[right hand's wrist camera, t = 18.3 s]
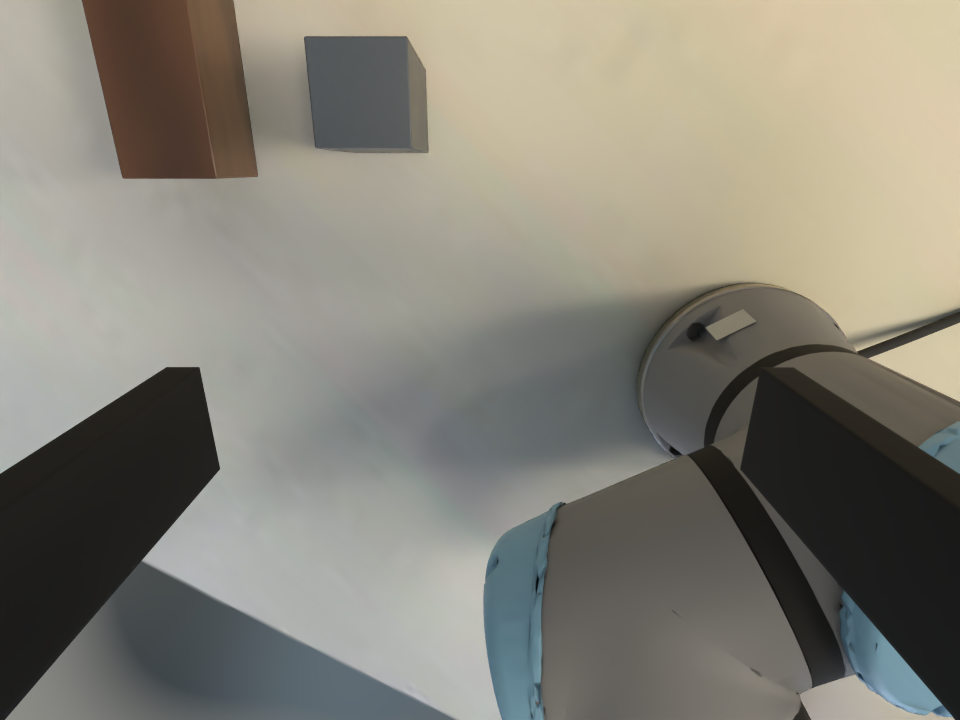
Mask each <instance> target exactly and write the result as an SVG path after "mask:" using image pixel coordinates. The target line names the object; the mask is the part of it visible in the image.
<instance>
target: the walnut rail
mask: <svg viewBox="0 0 960 720" xmlns="http://www.w3.org/2000/svg"><path fill="white" fill-rule="evenodd" d="M82 2H83V6H84V11H85V15H86V20H87V24H88V28H89V33H90V37H91V42H92V46H93V50H94V55H95V59H96V64H97V68H98V72H99V77H100V81H101V86H102V90H103V94H104V99H105V103H106V108H107V112H108V116H109V121H110V125H111V130H112V134H113V138H114V143H115V147H116V152H117V156H118V160H119V165H120V169H121V174H122V177H123V178H124V179H218V178H239V177H257V176H258V173H257V166H256V159H255V152H254V145H253V138H252V131H251V124H250V116H249V109H248V102H247V95H246V88H245V81H244V74H243V67H242V60H241V53H240V46H239V38H238V31H237V24H236V17H235V10H234V3H233V0H82Z"/></svg>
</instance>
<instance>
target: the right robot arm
mask: <svg viewBox="0 0 960 720" xmlns="http://www.w3.org/2000/svg"><path fill="white" fill-rule="evenodd" d="M957 323H960V312H958V313H956V314H953V315H951V316H948V317H945V318H943V319H940V320H938V321H935V322H933V323H930V324H928V325H925V326H923V327H920V328H918V329H915V330H913V331H910V332H907V333H905V334H902V335H900V336H897V337H894V338H892V339H889V340H887V341H884V342H881V343H879V344H876V345H873V346H871V347H868V348H866V349H863V350H860V351H858V352H857V351H856V350H855V349H854V348H853V346H852V345H851V344H850V343H849V341H848V340H847V339H846V337H845V335H844V333H843V332H842V330H841V329H840V327H839V326H838V324H837V323H836V322H835V320H834V319H833V318H832V317H831V316H830V315H829V314H828V313H827V312H826V311H824V310H823V309H822V308H821V307H819V306H818V305H817V304H815V303H814V302H812V301H811V300H809V299H807V298H805V297H803V296H801V295H799V294H797V293H794V292H792V291H789V290H786V289H784V288H781V287H777V286H773V285H767V284H753V283H752V284H739V285H732V286H728V287H724V288H720V289H717V290H714V291H711V292H709V293H707V294H704V295H702V296H700V297H698V298H696V299H695V300H693V301H691V302H690V303H688V304H687V305H685V306H684V307H682V308H681V309H680V310H678V311H677V312H676V313H675V314H674V315H673V316H672V317H670V318H669V319H668V320H667V321H666V323H665V324H664V325H663V326H662V327H661V328H660V329H659V331H658V332H657V333H656V335H655V336H654V338H653V339H652V341H651V343H650V344H649V346H648V348H647V350H646V352H645V355H644V357H643V360H642V363H641V366H640V370H639V376H638V385H637V393H638V402H639V407H640V411H641V414H642V416H643V419H644V421H645V423H646V425H647V427H648V428H649V430H650V431H651V433H652V434H653V436H654V437H655V439H656V440H657V442H658V443H659V444H660V445H661V446H662V447H663V448H664V449H665V450H666V451H667V452H668V453H669V454H670V455H671V456H673V457H674V458H675V459H673V460H671V461H669V462H666V463H664V464H661V465H659V466H657V467H654V468H652V469H650V470H647V471H645V472H642V473H640V474H638V475H635V476H633V477H631V478H628V479H626V480H624V481H621V482H619V483H616V484H614V485H612V486H609V487H607V488H605V489H602V490H600V491H597V492H595V493H593V494H590V495H588V496H586V497H583V498H581V499H578V500H576V501H573V502H571V503H568V504H566V503H563V502H559V503H557V504H555V505H553V506H552V507H551V508H550V510H549V511H548V512H546V513H543V514H541V515H539V516H537V517H535V518H533V519H531V520H529V521H527V522H525V523H523V524H521V525H518V526H516V527H514V528H512V529H511V530H509V531H508V532H506V533H505V534H504V535H503V536H502V537H501V538H500V539H499V540H498V541H497V543H496V545H495V547H494V548H493V550H492V552H491V555H490V558H489V561H488V564H487V570H486V579H485V584H484V600H483V604H484V628H485V639H486V648H487V655H488V661H489V667H490V673H491V678H492V682H493V687H494V692H495V696H496V700H497V704H498V707H499V711H500V714H501V717H502V720H811V719H810V717H809V715H808V713H807V711H806V709H805V707H804V705H803V704H802V702H801V699H800V695H799V694H800V693H802V692H805V691H807V690H809V689H811V688H814V687H816V686H819V685H822V684H825V683H828V682H831V681H834V680H838V679H841V678H845V677H848V676H851V675H855V674H856V675H857V677H858V678H859V680H860V681H862V682H863V683H865V684H866V686H867V687H868V688H869V689H870V690H872V691H874V692H876V694H879V695H880V696H882V697H883V698H884V699H885V700H886V701H888V702H890V703H891V704H893V705H895V706H896V707H898V708H901V709H903V710H905V711H907V712H910V713H914V714H919V715H927V714H928V713H930V712H933V713H934V714H936V715H937V716H943V717H953V718H954V719H955V720H960V402H959V401H957V400H955V399H952V398H950V397H948V396H946V395H944V394H942V393H940V392H938V391H936V390H933V389H931V388H929V387H927V386H925V385H923V384H921V383H919V382H917V381H914V380H912V379H910V378H908V377H906V376H904V375H902V374H900V373H898V372H895V371H893V370H891V369H889V368H887V367H885V366H883V365H881V364H879V363H876V362H874V361H872V360H870V359H868V358H870V357H873V356H875V355H878V354H881V353H883V352H886V351H888V350H891V349H894V348H896V347H899V346H901V345H904V344H907V343H909V342H912V341H914V340H917V339H919V338H922V337H924V336H927V335H929V334H932V333H934V332H937V331H940V330H942V329H945V328H947V327H950V326H952V325H955V324H957ZM219 470H220V466H219V461H218V457H217V452H216V447H215V442H214V437H213V432H212V427H211V422H210V417H209V412H208V407H207V402H206V397H205V393H204V388H203V383H202V378H201V373H200V368H199V367H166V368H165V369H163V370H162V371H160V372H158V373H157V374H155V375H154V376H152V377H151V378H149V379H148V380H146V381H144V382H143V383H141V384H140V385H138V386H137V387H135V388H134V389H132V390H130V391H129V392H127V393H126V394H124V395H123V396H121V397H120V398H118V399H116V400H115V401H113V402H112V403H110V404H109V405H107V406H105V407H104V408H102V409H101V410H99V411H98V412H96V413H95V414H93V415H91V416H90V417H88V418H87V419H85V420H84V421H82V422H81V423H79V424H77V425H76V426H74V427H73V428H71V429H70V430H68V431H66V432H65V433H63V434H62V435H60V436H59V437H57V438H56V439H54V440H52V441H51V442H49V443H48V444H46V445H45V446H43V447H42V448H40V449H38V450H37V451H35V452H34V453H32V454H31V455H29V456H27V457H26V458H24V459H23V460H21V461H20V462H18V463H17V464H15V465H13V466H12V467H10V468H9V469H7V470H6V471H4V472H3V473H1V474H0V720H5V719H6V718H7V717H8V715H9V714H10V713H11V712H12V711H13V710H14V708H15V707H16V706H17V705H18V704H19V703H20V701H21V700H22V699H23V698H24V697H25V696H26V694H27V693H28V692H29V691H30V690H31V689H32V687H33V686H34V685H35V684H36V683H37V682H38V680H39V679H40V678H41V677H42V676H43V675H44V673H45V672H46V671H47V670H48V669H49V668H50V666H51V665H52V664H53V663H54V662H55V661H56V659H57V658H58V657H59V656H60V655H61V654H62V652H63V651H64V650H65V649H66V648H67V647H68V645H69V644H70V643H71V642H72V641H73V640H74V639H75V637H76V636H77V635H78V634H79V633H80V632H81V630H82V629H83V628H84V627H85V626H86V625H87V623H88V622H89V621H90V620H91V619H92V618H93V616H94V615H95V614H96V613H97V612H98V611H99V609H100V608H101V607H102V606H103V605H104V604H105V602H106V601H107V600H108V599H109V598H110V597H111V595H112V594H113V593H114V592H115V591H116V590H117V588H118V587H119V586H120V585H121V584H122V583H123V581H124V580H125V579H126V578H127V577H128V576H129V574H130V573H131V572H132V571H133V570H134V569H135V568H136V566H137V565H138V564H139V563H140V562H141V561H142V559H143V558H144V557H145V556H146V555H147V554H148V552H149V551H150V550H151V549H152V548H153V547H154V545H155V544H156V543H157V542H158V541H159V540H160V538H161V537H162V536H163V535H164V534H165V533H166V531H167V530H168V529H169V528H170V527H171V526H172V524H173V523H174V522H175V521H176V520H177V519H178V517H179V516H180V515H181V514H182V513H183V512H184V510H185V509H186V508H187V507H188V506H189V505H190V503H191V502H192V501H193V500H194V499H195V498H196V496H197V495H198V494H199V493H200V492H201V491H202V489H203V488H204V487H205V486H206V485H207V484H208V483H209V481H210V480H211V479H212V478H213V477H214V476H215V474H216V473H217V472H218V471H219Z"/></svg>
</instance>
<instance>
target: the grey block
mask: <svg viewBox="0 0 960 720" xmlns="http://www.w3.org/2000/svg"><path fill="white" fill-rule="evenodd" d="M304 41H305V51H306V61H307V71H308V80H309V90H310V100H311V109H312V119H313V129H314V139H315V147H316V148H318V149H327V150H336V151H345V152H354V153H428V125H427V95H426V70H425V68H424V66H423V64H422V62H421V61H420V59H419V57H418V55H417V54H416V52H415V50H414V48H413V47H412V45H411V43H410V41H409V39H408V38H407V37H406V36H306V37H304Z"/></svg>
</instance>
